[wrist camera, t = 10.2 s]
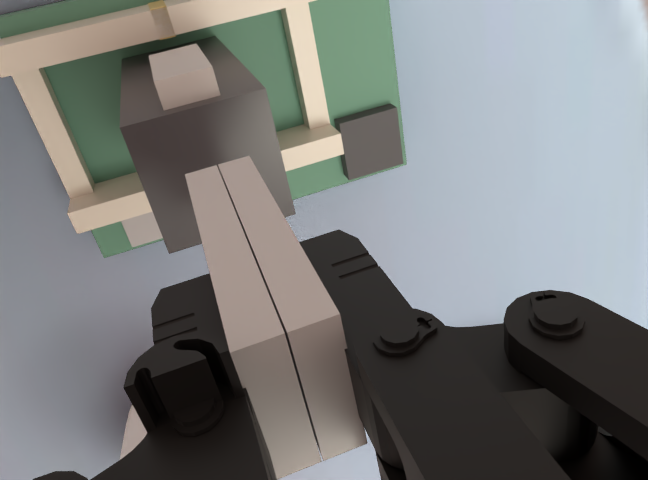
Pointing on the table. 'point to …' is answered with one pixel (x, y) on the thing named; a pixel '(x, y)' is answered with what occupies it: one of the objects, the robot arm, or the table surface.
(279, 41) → the board
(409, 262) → the table surface
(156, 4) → the socket
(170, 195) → the plug
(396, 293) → the robot arm
